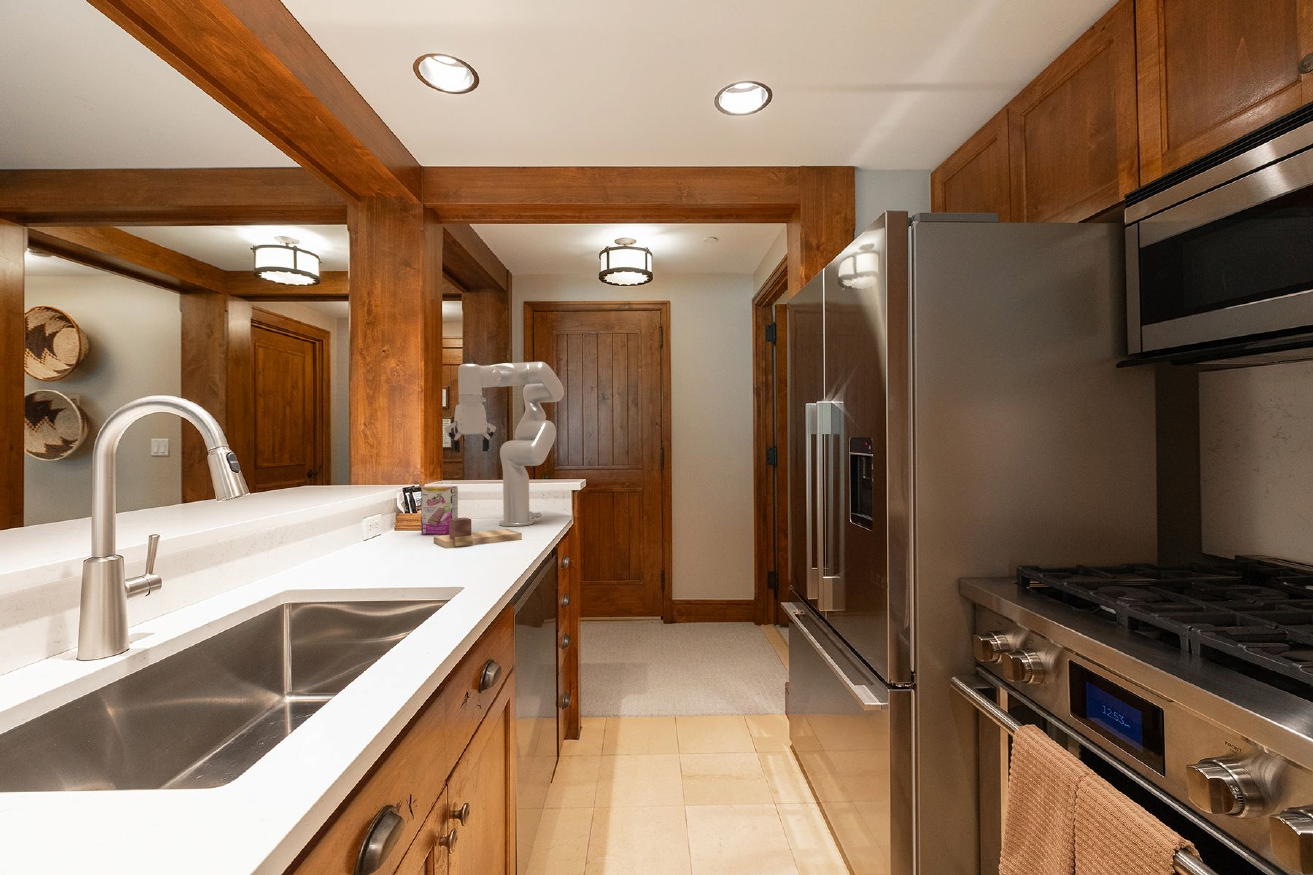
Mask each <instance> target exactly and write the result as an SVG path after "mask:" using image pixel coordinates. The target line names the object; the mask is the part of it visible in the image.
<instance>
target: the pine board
mask: <svg viewBox="0 0 1313 875" xmlns="http://www.w3.org/2000/svg"><path fill="white" fill-rule="evenodd" d="M522 534H523V533H522V532H520V531H519V532H518V531H515V530H512V529H510V528H509V529H508V528H505V529H504V528H503V529H492V530H485V531H484V530H483V531H475V532H472V531H471V536H473V544H470V545H462V546H455V540H452V539H450V535H433V543H434V544H435V545H438V546H440V547H442V548H445V549H450V548H458V547H460V548H461V547H468V546H477V545H485V544H494V543H503V542H513V541H520V540H522V539H523V537H522Z"/></svg>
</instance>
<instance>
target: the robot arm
mask: <svg viewBox="0 0 1313 875" xmlns="http://www.w3.org/2000/svg"><path fill="white" fill-rule="evenodd" d="M457 372H458V373H457V377H458V378H457V379H458V380H457V381H458V404H456V405H455V411H454V417H453V418H454V419H453V420H454V421H453V422H452V423H450V424H448V425H446V426H445V427H444V430H445V433H446V434H447V436H448V437H449V439H451V440H452V446H453V447H452V450H453V451H454V453H460V452H461V450H460V449H461V448H460V447H461V444H460V440H459V439H460V437H461V436H462V435H480V436H481V437H482V438H483V439H482V452H488V451H489V449H490V439H491V438H492V437H493V436H494V434H495V432H496V429H497V427H496V425H494V424H491V423H490V422H488V421H487V414H486V413H487V412H486V409H485V405H484V404H483V403H486V401H487V398H486V397H483V388H493V387H496V388H497V387H501V388H502V387H515V386H516V387H517V386H524V387H523V388H522V396H523V402H524V406H525V411H524V414H523V415H522V418H521V420H520V421H519V423H518V424H517V427H516V429H515V432H514V438H515V440H507V441H506V442H504V443H503V444H501V447H500V451H499V455H500V456H499V457H500V461H501V466H502V493H503V498H502V499H503V500H502V501H503V502H502V503H503V504H502V505H503V508H502V509H503V512H502V513H503V520H500V521H499V523H498V524H499V525H500V526H502V527H523V526H524V527H525V526H530V525H533V524H534V519H535V518H536V519H537V518H542V512H533V511H530V477H529V473H528V471H527V469H526V467H527V466H529V467H533V466H534V467H536V466H540V465H542V464H543V463H544V462H545V461H546V459H547V457H548V455H549V452H550V451H551V449H552V447H553V445H554V442H555V440H556V437H557V436H556V435H557V429H556V426H555V424H554V423H553V422H552V421H551V420H548V419H547V414H546V412H545V410H544V409H543V407H542V405H541V403H542V404H543V403H557V402H559V401H561V400H562V399H564V398H563V397H564V394H565V389H564V385H563V384H562V382H561V381H560V379H559V378H558V376H557V374H556V373H555V372H554V369H552V368H551V366H550V365H549V364H547V363H546V362H544V361H531V362H530V361H529V362H528V361H527V362H511V363H510V362H507V363H506V362H505V363H497V364H491V365H489V364H488V365H480V364H476V363H463V364H460V365H459V366H458V369H457ZM488 428H489V429H490V430H489V432H488V433H487V431H488ZM452 429H453V432H452Z"/></svg>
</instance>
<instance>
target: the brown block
mask: <svg viewBox="0 0 1313 875" xmlns="http://www.w3.org/2000/svg"><path fill="white" fill-rule="evenodd" d="M449 532H450V539H452V540H455V546H460V547H463V546H462V545H469V546H471V545H470V544H473V536H471V533H472V518H469V517H467V516H466V517H458V518H453V519H449Z"/></svg>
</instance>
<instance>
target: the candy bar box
mask: <svg viewBox="0 0 1313 875" xmlns="http://www.w3.org/2000/svg"><path fill="white" fill-rule="evenodd" d="M420 488H421V489H420V491H421V492H420V500H421V501H420V504H421V505H420V511H421V512H420V514H421V520H420V522H421V523H420V524H421V528H420V531H421V532H420V533H421V535H422V536H423V535H425V536H428V535H430V536H443V535H450V532H449V519H453V518H459V517H458V516H459V515H458V514H459V513H458V512H459V510H458V509H459V508H458V507H459V506H458V505H459V504H458V503H459V502H458V501H459V500H458V499H459V498H458V495H459V492H458V491H459V489H458V488H459V487H458V486H457V485H423V486H421V487H420Z"/></svg>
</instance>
